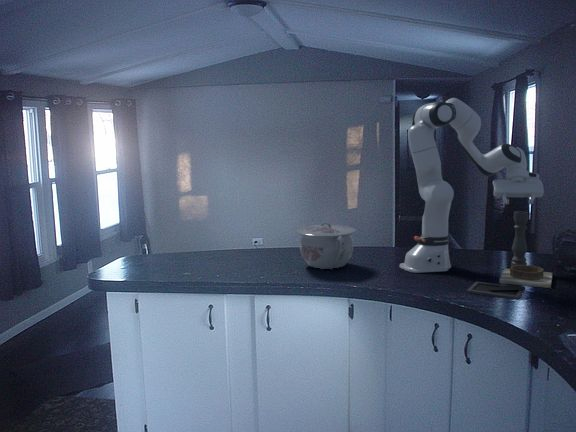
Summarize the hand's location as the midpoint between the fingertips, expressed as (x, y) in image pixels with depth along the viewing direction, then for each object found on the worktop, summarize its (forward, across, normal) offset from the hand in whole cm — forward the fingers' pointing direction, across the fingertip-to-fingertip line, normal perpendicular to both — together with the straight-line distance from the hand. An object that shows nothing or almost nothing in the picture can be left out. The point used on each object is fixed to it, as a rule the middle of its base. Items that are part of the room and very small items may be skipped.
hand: (518, 203), depth 230 cm
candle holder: (+25, 0, +14) cm, 29 cm away
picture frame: (+49, -11, -9) cm, 52 cm away
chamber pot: (+31, -82, +9) cm, 88 cm away
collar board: (+35, +1, +4) cm, 36 cm away
